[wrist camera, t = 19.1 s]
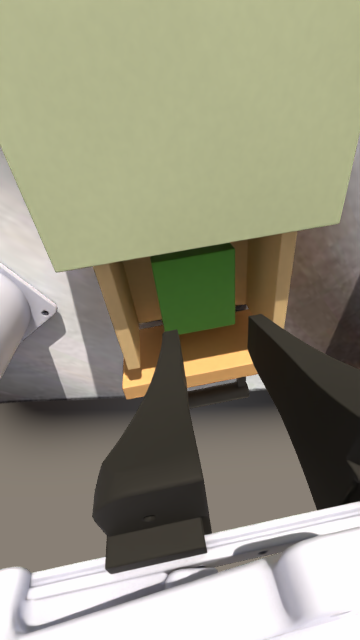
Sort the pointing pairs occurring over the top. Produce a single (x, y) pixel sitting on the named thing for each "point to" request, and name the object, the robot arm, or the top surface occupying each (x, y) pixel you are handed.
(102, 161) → the cabinet
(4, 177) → the top surface
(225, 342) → the drawer
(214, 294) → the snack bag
